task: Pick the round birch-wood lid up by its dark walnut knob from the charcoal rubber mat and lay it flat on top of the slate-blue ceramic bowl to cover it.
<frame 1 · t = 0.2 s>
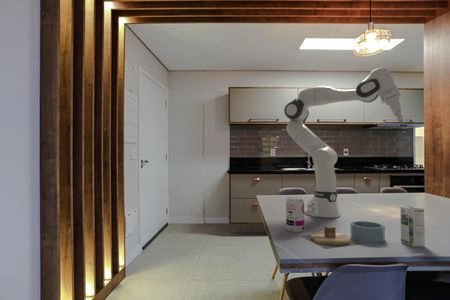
hand: (401, 121, 138), 52 cm above the table, tool tilted 20°, fingers open, 8 cm apart
charcoal mat: (330, 240, 111), on the table
slate bowl: (367, 239, 113), on the table
birch lid: (330, 239, 111), resting on charcoal mat
supplement can: (295, 231, 127), on the table
syrup box: (412, 245, 105), on the table
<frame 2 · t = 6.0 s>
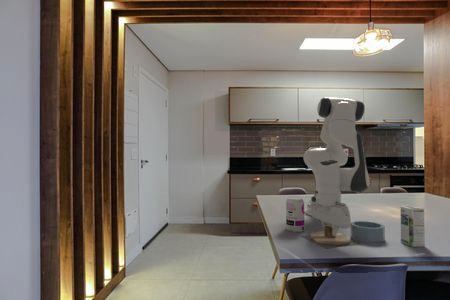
hand: (330, 234, 111), 3 cm above the table, tool pointing down, fingers closed on birch lid, 3 cm apart
birch lid: (330, 239, 111), resting on charcoal mat, touching gripper
everything else where it was.
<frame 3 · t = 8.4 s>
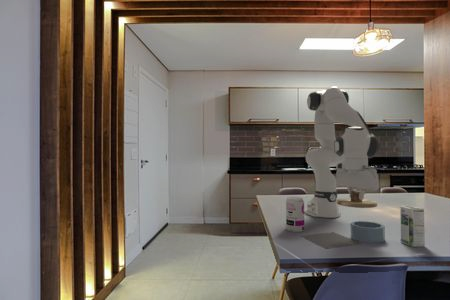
hand: (356, 198, 113), 17 cm above the table, tool pointing down, fingers closed on birch lid, 3 cm apart
birch lid: (356, 204, 113), point 14 cm above the table, touching gripper
everything else where it was.
when the fingers open (10 cm above the table, at t = 10.8 s): birch lid drops 1 cm, resting on slate bowl.
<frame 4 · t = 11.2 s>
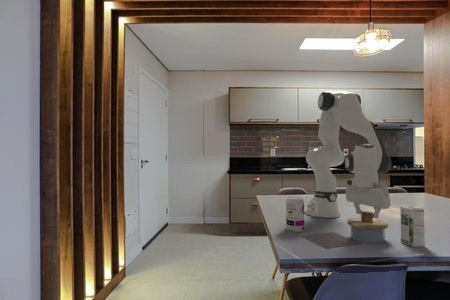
hand: (366, 215, 113), 10 cm above the table, tool pointing down, fingers open, 7 cm apart
birch lid: (367, 224, 113), point 6 cm above the table, touching slate bowl
everything else where it was.
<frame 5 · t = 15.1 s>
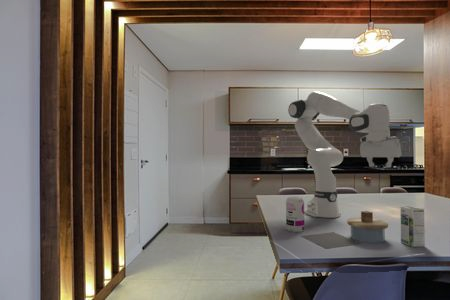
hand: (379, 167, 128), 29 cm above the table, tool pointing down, fingers open, 8 cm apart
nothing on the table moved.
at the end: birch lid 0.0 cm from the slate bowl (horizontally); birch lid point 6.0 cm above the table; birch lid tilted 0° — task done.
